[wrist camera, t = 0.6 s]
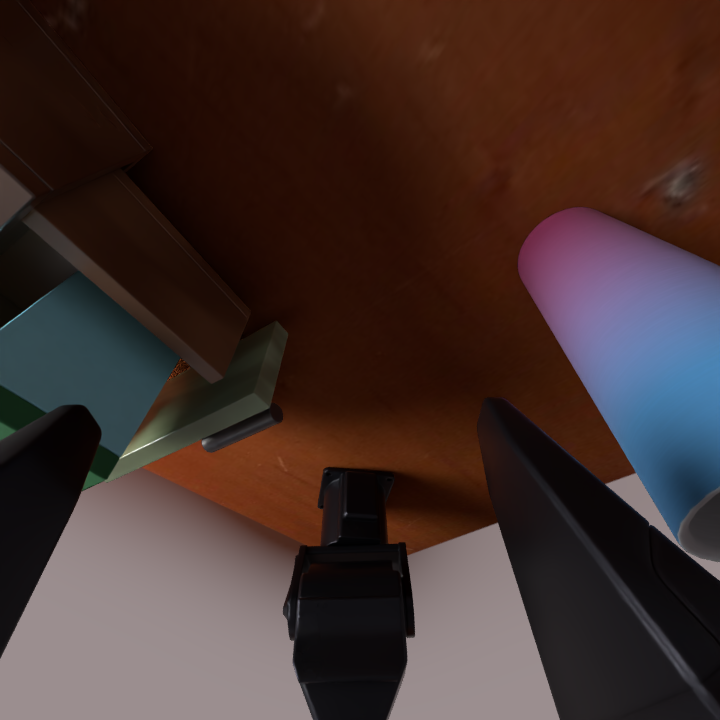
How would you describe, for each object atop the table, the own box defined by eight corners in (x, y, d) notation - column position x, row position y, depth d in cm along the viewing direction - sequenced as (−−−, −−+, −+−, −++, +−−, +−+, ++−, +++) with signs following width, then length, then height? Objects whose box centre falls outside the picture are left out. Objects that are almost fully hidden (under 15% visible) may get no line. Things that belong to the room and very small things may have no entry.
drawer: (326, 376, 25) (318, 452, 20) (195, 437, 29) (162, 513, 24) (110, 131, 16) (1, 160, 11) (-37, 268, 20) (-165, 335, 15)
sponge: (199, 325, 21) (107, 480, 13) (134, 364, 23) (19, 521, 15) (114, 243, 18) (-72, 382, 10) (46, 296, 20) (-155, 447, 12)
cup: (544, 325, 24) (730, 582, 12) (476, 261, 21) (630, 515, 9) (652, 244, 20) (1057, 491, 9) (588, 156, 17) (1056, 342, 6)
